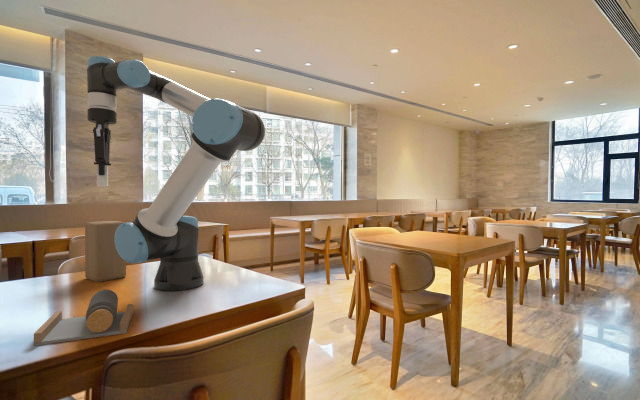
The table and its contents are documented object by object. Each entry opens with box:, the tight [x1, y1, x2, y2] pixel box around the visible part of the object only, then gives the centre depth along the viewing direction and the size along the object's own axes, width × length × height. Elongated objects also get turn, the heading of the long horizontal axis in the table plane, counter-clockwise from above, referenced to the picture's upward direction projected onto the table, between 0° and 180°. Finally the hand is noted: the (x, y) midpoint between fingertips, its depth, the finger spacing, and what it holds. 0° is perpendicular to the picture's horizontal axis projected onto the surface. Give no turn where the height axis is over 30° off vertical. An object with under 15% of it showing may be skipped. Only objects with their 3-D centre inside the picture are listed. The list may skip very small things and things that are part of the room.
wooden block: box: [84, 220, 127, 283], centre depth 119 cm, size 10×10×20 cm
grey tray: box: [33, 303, 134, 346], centre depth 75 cm, size 16×13×2 cm
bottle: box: [85, 289, 119, 332], centre depth 77 cm, size 6×6×15 cm
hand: (102, 186), depth 104 cm, fingers closed
